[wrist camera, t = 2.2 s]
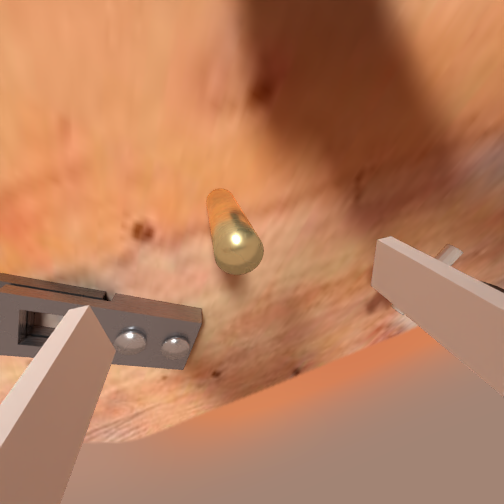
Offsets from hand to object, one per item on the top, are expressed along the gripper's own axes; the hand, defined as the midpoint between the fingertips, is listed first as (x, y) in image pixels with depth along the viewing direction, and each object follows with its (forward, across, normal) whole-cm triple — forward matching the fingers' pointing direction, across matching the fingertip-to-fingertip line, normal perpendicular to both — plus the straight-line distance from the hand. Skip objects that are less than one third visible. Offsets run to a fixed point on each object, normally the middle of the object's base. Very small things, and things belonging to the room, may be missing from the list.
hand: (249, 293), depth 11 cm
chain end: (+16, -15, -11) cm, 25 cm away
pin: (+16, 0, 0) cm, 16 cm away
